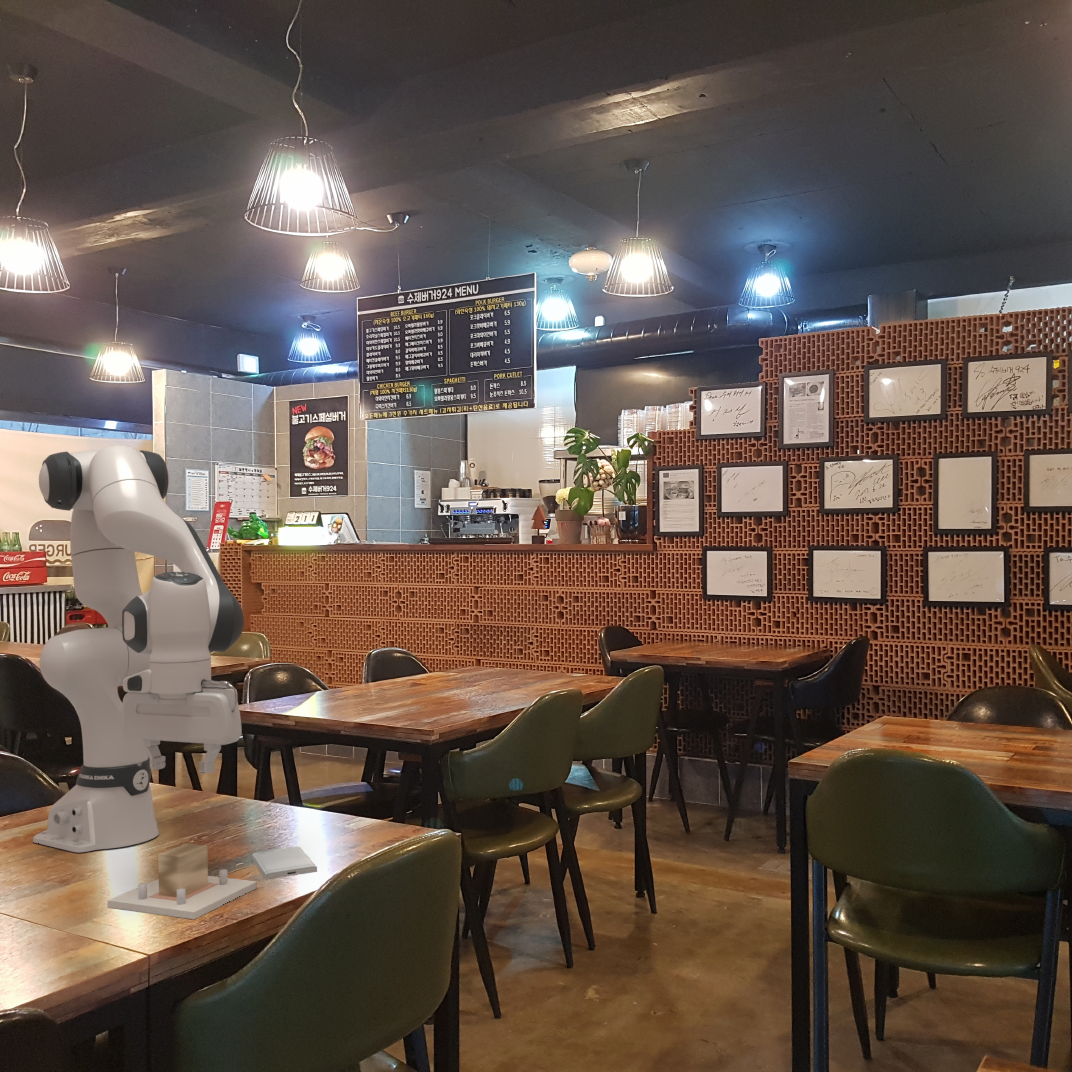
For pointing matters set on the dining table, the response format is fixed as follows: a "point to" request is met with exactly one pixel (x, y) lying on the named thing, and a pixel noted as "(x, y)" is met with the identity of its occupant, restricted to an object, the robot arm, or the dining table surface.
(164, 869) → the maple block
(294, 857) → the hard drive
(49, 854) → the dining table surface
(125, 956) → the dining table surface
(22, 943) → the dining table surface
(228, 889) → the pin base
